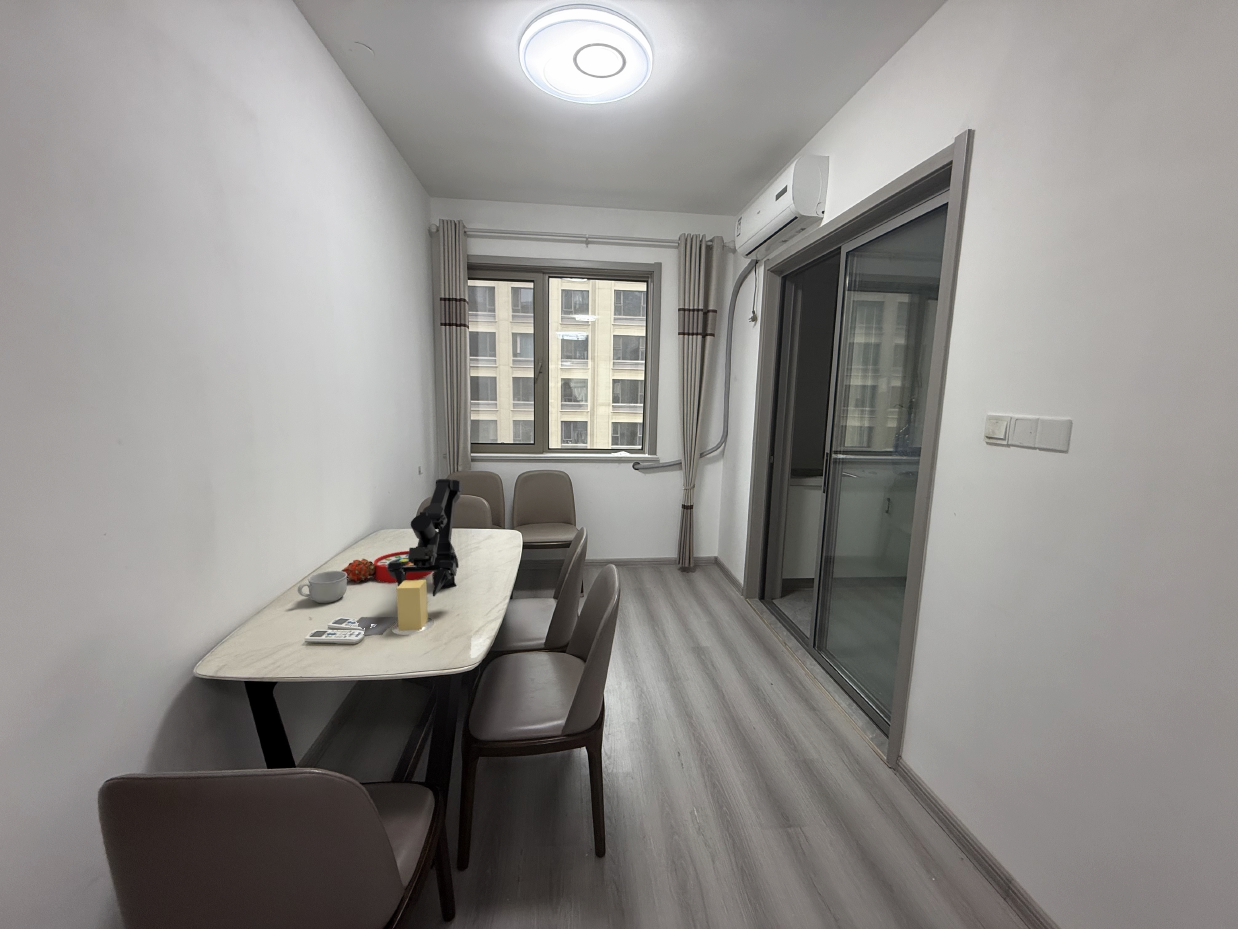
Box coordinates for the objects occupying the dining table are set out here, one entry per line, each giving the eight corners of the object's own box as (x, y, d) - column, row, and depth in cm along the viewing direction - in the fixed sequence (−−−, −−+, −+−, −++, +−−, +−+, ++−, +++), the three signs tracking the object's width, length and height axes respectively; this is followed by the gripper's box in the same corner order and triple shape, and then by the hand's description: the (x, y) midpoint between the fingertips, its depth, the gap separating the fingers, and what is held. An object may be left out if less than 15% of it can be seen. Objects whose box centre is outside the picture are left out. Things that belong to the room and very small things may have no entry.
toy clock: (440, 559, 178) (382, 571, 165) (441, 574, 179) (383, 587, 166) (421, 547, 193) (367, 557, 180) (422, 561, 194) (368, 572, 181)
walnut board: (333, 643, 126) (332, 639, 126) (363, 616, 142) (363, 613, 142) (425, 643, 127) (424, 639, 127) (445, 616, 143) (445, 613, 143)
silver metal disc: (430, 614, 142) (429, 600, 142) (438, 629, 133) (437, 614, 132) (389, 623, 136) (388, 609, 136) (394, 639, 127) (394, 623, 126)
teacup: (342, 590, 162) (341, 567, 161) (352, 599, 155) (351, 575, 154) (294, 602, 153) (292, 577, 152) (302, 612, 145) (300, 587, 144)
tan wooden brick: (406, 620, 137) (404, 580, 136) (427, 620, 138) (426, 579, 136) (398, 630, 131) (396, 588, 130) (421, 629, 132) (419, 587, 130)
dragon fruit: (380, 583, 173) (343, 592, 169) (380, 564, 179) (344, 572, 175) (374, 570, 167) (336, 578, 164) (374, 551, 173) (336, 559, 169)
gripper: (387, 535, 140) (373, 585, 130) (453, 534, 142) (444, 584, 132) (398, 553, 149) (386, 601, 139) (460, 551, 150) (452, 599, 141)
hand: (417, 596), depth 138 cm, fingers open, 9 cm apart
